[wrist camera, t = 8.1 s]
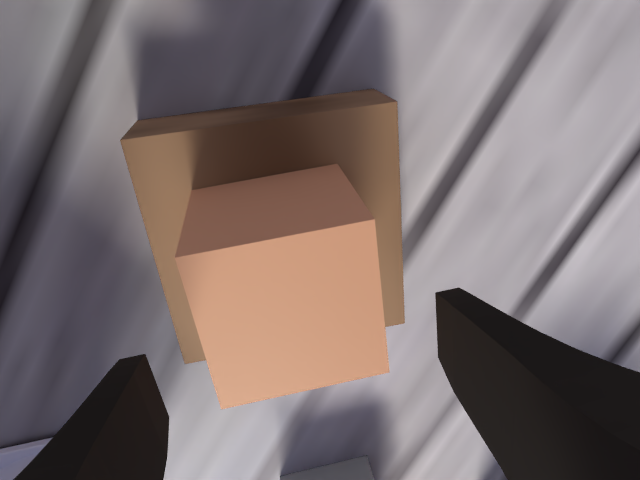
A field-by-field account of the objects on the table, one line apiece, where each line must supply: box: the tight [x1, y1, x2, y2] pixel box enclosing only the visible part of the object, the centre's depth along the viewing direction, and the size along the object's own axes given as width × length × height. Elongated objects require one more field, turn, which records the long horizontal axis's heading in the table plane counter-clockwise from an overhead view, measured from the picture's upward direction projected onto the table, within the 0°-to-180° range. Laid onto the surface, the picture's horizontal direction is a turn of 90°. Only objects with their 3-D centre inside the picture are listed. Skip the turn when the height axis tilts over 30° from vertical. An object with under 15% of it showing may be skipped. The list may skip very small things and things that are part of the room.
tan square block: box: [120, 89, 405, 364], centre depth 19 cm, size 9×9×4 cm
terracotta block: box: [175, 164, 389, 409], centre depth 15 cm, size 5×5×5 cm
